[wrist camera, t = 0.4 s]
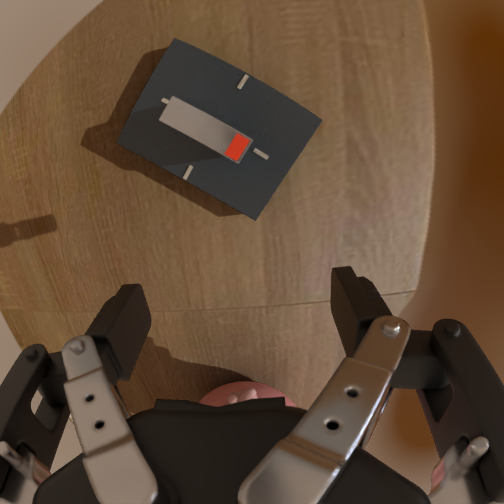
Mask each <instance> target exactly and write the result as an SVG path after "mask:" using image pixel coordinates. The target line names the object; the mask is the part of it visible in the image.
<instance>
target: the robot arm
mask: <svg viewBox="0 0 504 504" xmlns="http://www.w3.org/2000/svg"><path fill="white" fill-rule="evenodd" d="M331 311H332V315H333V318H334V321H335V324H336V327H337V329H338V332H339V335H340V338H341V341H342V344H343V347H344V350H345V353H346V357H345V358H344V359H343V361H342V362H341V364H340V365H339V367H338V368H337V370H336V371H335V373H334V374H333V376H332V377H331V379H330V380H329V382H328V383H327V385H326V386H325V387H324V389H323V390H322V392H321V393H320V394H319V396H318V397H317V399H316V400H315V401H314V403H313V404H312V406H311V407H310V408H309V410H308V411H307V410H305V409H302V408H298V407H293V406H286V404H285V396H283V397H271V398H256V399H249V400H245V401H241V402H237V403H233V404H228V405H224V406H219V407H216V406H210V405H206V404H201V403H196V402H192V401H188V400H164V399H156V403H155V407H154V408H153V409H148V410H145V411H142V412H139V413H137V414H135V415H133V416H132V415H131V413H130V411H129V409H128V407H127V405H126V403H125V401H124V399H123V397H122V395H121V393H120V390H119V389H118V387H117V385H116V384H117V382H118V380H124V381H129V380H130V377H131V374H132V372H133V369H134V367H135V364H136V362H137V359H138V356H139V354H140V351H141V349H142V347H143V344H144V342H145V339H146V337H147V334H148V332H149V329H150V327H151V314H150V311H149V308H148V304H147V301H146V298H145V295H144V292H143V289H142V286H141V285H140V284H124V285H122V286H121V288H120V289H119V291H118V292H117V294H116V295H115V296H113V297H112V298H110V299H109V300H108V301H107V302H105V304H104V305H103V307H102V308H101V310H100V312H99V313H98V314H97V317H96V318H95V319H94V321H93V322H92V324H91V325H90V327H89V328H88V330H87V331H86V333H85V335H79V336H76V337H74V338H72V339H70V340H69V341H67V342H66V343H65V345H64V346H63V348H62V351H60V352H55V353H50V354H49V353H48V352H47V350H46V348H45V346H44V345H42V344H34V345H31V346H29V347H27V348H26V349H24V350H23V351H22V352H21V354H20V355H19V357H18V358H17V360H16V361H15V363H14V365H13V366H12V368H11V369H10V371H9V372H8V374H7V376H6V377H5V379H4V381H3V382H2V384H1V386H0V504H504V385H503V383H502V382H501V380H500V378H499V377H498V375H497V373H496V372H495V370H494V368H493V367H492V365H491V363H490V362H489V360H488V359H487V357H486V355H485V354H484V352H483V351H482V350H481V348H480V346H479V345H478V343H477V342H476V340H475V339H474V338H473V336H472V334H471V333H470V332H469V330H468V329H467V327H466V326H465V325H464V324H463V323H461V322H459V321H457V320H453V319H442V320H439V321H438V322H436V323H435V324H434V327H433V330H432V331H421V330H412V329H411V328H410V326H409V324H408V323H407V322H406V321H405V320H403V319H401V318H399V317H396V316H393V315H392V313H391V312H390V310H389V308H388V307H387V305H386V303H385V302H384V300H383V299H382V297H381V295H380V294H379V292H378V291H377V289H376V287H375V286H374V284H373V283H372V282H371V281H370V280H368V279H367V278H365V277H364V276H363V277H357V276H356V274H355V273H354V271H353V269H352V268H351V266H345V267H336V268H332V273H331ZM394 388H404V389H416V392H417V395H418V397H419V400H420V402H421V405H422V408H423V411H424V413H425V416H426V419H427V422H428V424H429V427H430V430H431V433H432V436H433V439H434V442H435V445H436V448H437V451H438V455H439V457H440V461H439V462H438V463H437V464H436V466H435V467H434V468H433V471H432V474H431V491H430V493H429V495H428V496H427V495H426V493H425V492H424V491H423V490H422V489H421V488H420V487H418V486H417V485H416V484H414V483H413V482H411V481H409V480H408V479H406V478H405V477H403V476H402V475H400V474H399V473H397V472H396V471H394V470H393V469H391V468H390V467H388V466H387V465H385V464H384V463H383V462H381V461H380V460H378V459H377V458H375V457H374V456H372V455H371V454H369V453H368V452H367V451H365V448H366V446H367V444H368V443H369V441H370V439H371V436H372V434H373V432H374V430H375V428H376V425H377V423H378V422H379V419H380V417H381V415H382V413H383V411H384V409H385V407H386V405H387V403H388V401H389V398H390V396H391V394H392V392H393V389H394ZM36 390H38V391H39V393H40V394H41V395H42V397H43V398H42V400H41V403H40V405H39V407H38V409H37V411H36V413H35V415H34V414H33V412H32V410H31V400H32V398H33V396H34V394H35V392H36ZM70 413H71V416H72V419H73V423H74V426H75V429H76V433H77V436H78V439H79V442H80V445H81V448H82V451H83V452H82V453H81V454H80V455H78V456H77V457H76V458H74V459H73V460H72V461H70V462H69V463H67V464H66V465H65V466H63V467H62V468H60V469H59V470H57V471H56V472H55V473H53V474H52V475H51V473H50V469H51V465H52V463H53V460H54V457H55V454H56V451H57V448H58V445H59V442H60V440H61V437H62V434H63V431H64V429H65V425H66V423H67V421H68V418H69V416H70Z"/></svg>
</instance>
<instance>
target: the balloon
mask: <svg viewBox="0 0 504 504" xmlns="http://www.w3.org/2000/svg"><path fill="white" fill-rule="evenodd" d="M283 396H285V404H286V406H293V407H296V406H295V405H294V403H293V402H292V401H291V400H290V399H289V398H288V397H287V396H286V395H284V394H283V393H282V392H280V391H279V390H277V389H275V388H273V387H271V386H268V385H266V384H262V383H258V382H251V381H240V382H233V383H228V384H225V385H222V386H220V387H218V388H216V389H214V390H212V391H211V392H209V393H208V394H206V395H205V396H204V397H203V398H202V399H201V400H200V401H199V402H198V403H201V404H206V405H210V406H216V407H219V406H224V405H228V404H233V403H237V402H241V401H245V400H249V399H256V398H271V397H283Z"/></svg>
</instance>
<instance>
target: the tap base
mask: <svg viewBox="0 0 504 504" xmlns="http://www.w3.org/2000/svg"><path fill="white" fill-rule="evenodd" d="M172 96H176V97H179V98H183V99H187V100H190V101H192V102H194V103H195V104H197V105H199V106H201V107H203V108H205V109H207V110H209V111H210V112H212V113H214V114H216V115H218V116H220V117H221V118H223V119H225V120H227V121H229V122H230V123H232V124H234V125H236V126H237V127H239V128H241V129H242V130H244V131H246V132H248V133H249V134H251V135H253V142H252V143H251V145H250V146H249V148H248V149H247V151H246V153H245V154H244V156H243V157H242V159H241V161H240V162H239V164H237V163H235V162H234V161H232V160H230V159H229V158H227V157H225V156H223V155H222V154H220V153H218V152H216V151H215V150H213V149H211V148H209V147H207V146H206V145H204V144H202V143H200V142H198V141H197V140H195V139H193V138H191V137H189V136H187V135H186V134H184V133H182V132H180V131H178V130H176V129H174V128H173V127H171V126H169V125H167V124H165V123H163V122H161V121H159V119H160V117H161V115H162V113H163V111H164V109H165V108H166V106H167V104H168V102H169V101H170V99H171V97H172ZM321 122H322V119H320V118H319V117H317V116H316V115H314V114H313V113H311V112H310V111H308V110H307V109H305V108H304V107H302V106H301V105H299V104H298V103H296V102H295V101H293V100H291V99H290V98H288V97H287V96H285V95H283V94H282V93H280V92H279V91H277V90H275V89H274V88H272V87H270V86H268V85H267V84H265V83H263V82H262V81H260V80H258V79H256V78H255V77H253V76H251V75H249V74H247V73H246V72H244V71H242V70H240V69H238V68H236V67H234V66H233V65H231V64H229V63H227V62H225V61H223V60H221V59H219V58H217V57H215V56H213V55H211V54H209V53H207V52H205V51H203V50H200V49H198V48H196V47H194V46H192V45H190V44H187V43H185V42H183V41H181V40H178V39H176V38H174V40H173V41H172V43H171V44H170V46H169V47H168V49H167V50H166V52H165V54H164V55H163V57H162V58H161V60H160V62H159V63H158V65H157V67H156V68H155V70H154V72H153V73H152V75H151V77H150V78H149V80H148V82H147V84H146V86H145V87H144V89H143V91H142V93H141V95H140V96H139V98H138V100H137V102H136V104H135V106H134V108H133V110H132V112H131V114H130V116H129V118H128V120H127V122H126V124H125V126H124V128H123V130H122V132H121V134H120V136H119V138H118V140H117V144H119V145H121V146H123V147H125V148H126V149H128V150H130V151H132V152H134V153H136V154H138V155H139V156H141V157H143V158H145V159H147V160H149V161H150V162H152V163H154V164H156V165H158V166H160V167H161V168H163V169H165V170H167V171H169V172H170V173H172V174H174V175H176V176H178V177H179V178H181V179H183V180H185V181H187V182H188V183H190V184H192V185H194V186H196V187H197V188H199V189H201V190H203V191H204V192H206V193H208V194H210V195H211V196H213V197H215V198H217V199H218V200H220V201H222V202H224V203H225V204H227V205H229V206H231V207H232V208H234V209H236V210H238V211H239V212H241V213H243V214H245V215H246V216H248V217H250V218H251V219H253V220H255V221H256V220H257V218H258V216H259V215H260V213H261V212H262V210H263V209H264V207H265V206H266V204H267V203H268V201H269V200H270V198H271V197H272V195H273V194H274V192H275V191H276V189H277V188H278V186H279V185H280V183H281V182H282V180H283V179H284V177H285V176H286V174H287V173H288V171H289V170H290V168H291V167H292V165H293V164H294V162H295V161H296V159H297V158H298V156H299V155H300V153H301V152H302V150H303V149H304V147H305V146H306V144H307V143H308V141H309V140H310V138H311V137H312V135H313V134H314V132H315V131H316V129H317V128H318V126H319V125H320V123H321Z"/></svg>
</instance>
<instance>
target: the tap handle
mask: <svg viewBox="0 0 504 504" xmlns="http://www.w3.org/2000/svg"><path fill="white" fill-rule="evenodd" d="M159 121H161V122H163V123H165V124H167V125H169V126H171V127H173V128H174V129H176V130H178V131H180V132H182V133H184V134H186V135H187V136H189V137H191V138H193V139H195V140H197V141H198V142H200V143H202V144H204V145H206V146H207V147H209V148H211V149H213V150H215V151H216V152H218V153H220V154H222V155H223V156H225V157H227V158H229V159H230V160H232V161H234V162H235V163H237V164H239V162H240V161H241V159H242V157H243V156H244V154H245V153H246V151H247V149H248V148H249V146H250V145H251V143H252V142H253V135H251V134H249V133H248V132H246V131H244V130H242V129H241V128H239V127H237V126H236V125H234V124H232V123H230V122H229V121H227V120H225V119H223V118H221V117H220V116H218V115H216V114H214V113H212V112H210V111H209V110H207V109H205V108H203V107H201V106H199V105H197V104H195V103H194V102H192V101H190V100H187V99H183V98H179V97H176V96H172V97H171V99H170V101H169V102H168V104H167V106H166V108H165V109H164V111H163V113H162V115H161V117H160V119H159Z"/></svg>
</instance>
